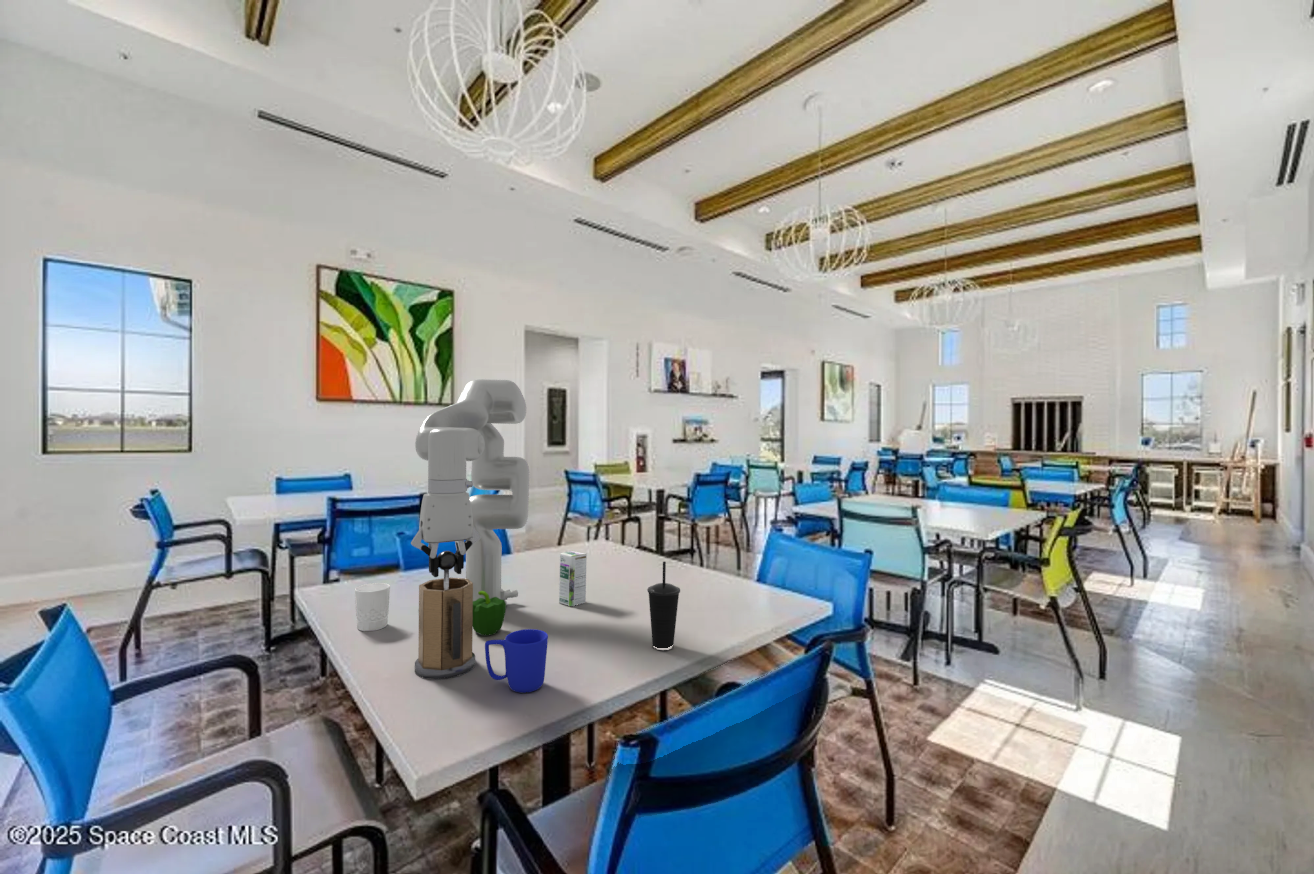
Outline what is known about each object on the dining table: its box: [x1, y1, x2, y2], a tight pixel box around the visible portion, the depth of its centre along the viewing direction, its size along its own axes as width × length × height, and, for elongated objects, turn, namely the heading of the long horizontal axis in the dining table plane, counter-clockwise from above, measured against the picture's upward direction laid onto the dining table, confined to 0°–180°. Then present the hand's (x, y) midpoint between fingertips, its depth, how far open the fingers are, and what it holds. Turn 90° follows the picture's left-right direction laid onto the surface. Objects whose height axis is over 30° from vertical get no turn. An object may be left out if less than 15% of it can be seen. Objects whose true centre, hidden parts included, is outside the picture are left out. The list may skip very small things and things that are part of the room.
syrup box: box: [558, 550, 588, 607], centre depth 165 cm, size 6×6×14 cm
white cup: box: [354, 582, 391, 632], centre depth 143 cm, size 8×8×10 cm
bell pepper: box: [473, 591, 507, 636], centre depth 141 cm, size 8×8×10 cm
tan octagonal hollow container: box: [414, 576, 476, 680], centre depth 119 cm, size 12×14×18 cm
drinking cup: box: [646, 561, 681, 648], centre depth 133 cm, size 8×8×20 cm
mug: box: [484, 628, 549, 694], centre depth 112 cm, size 8×12×10 cm
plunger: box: [437, 550, 457, 590], centre depth 120 cm, size 8×8×19 cm
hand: (446, 573), depth 120 cm, fingers closed on plunger, 4 cm apart
